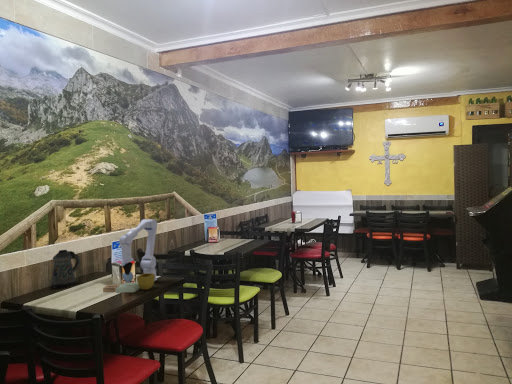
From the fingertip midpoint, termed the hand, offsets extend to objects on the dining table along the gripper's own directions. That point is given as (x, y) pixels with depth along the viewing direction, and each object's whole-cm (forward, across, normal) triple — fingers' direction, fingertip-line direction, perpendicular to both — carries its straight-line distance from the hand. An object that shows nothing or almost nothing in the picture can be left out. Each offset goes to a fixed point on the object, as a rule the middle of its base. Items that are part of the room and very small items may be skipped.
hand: (128, 274), depth 258 cm
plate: (+5, 0, 0) cm, 5 cm away
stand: (+10, 0, -12) cm, 16 cm away
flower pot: (+11, -2, +11) cm, 15 cm away
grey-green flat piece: (+10, 0, 0) cm, 10 cm away
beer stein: (+11, -16, -56) cm, 59 cm away
